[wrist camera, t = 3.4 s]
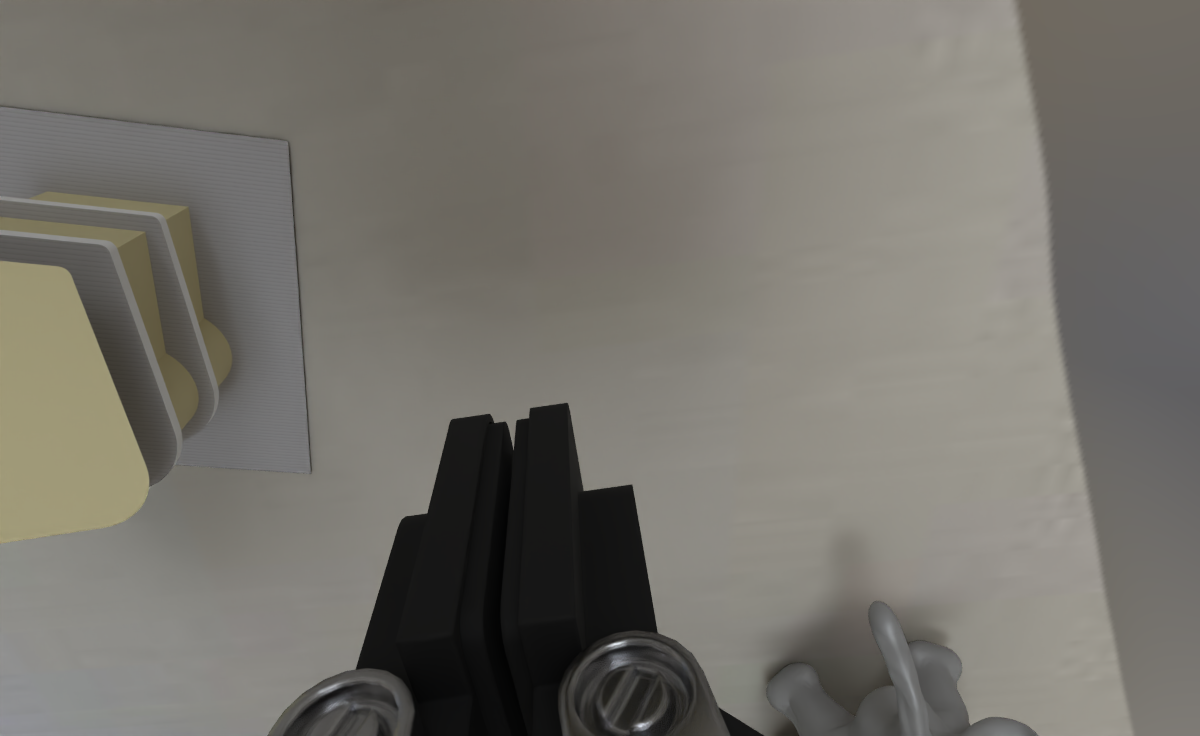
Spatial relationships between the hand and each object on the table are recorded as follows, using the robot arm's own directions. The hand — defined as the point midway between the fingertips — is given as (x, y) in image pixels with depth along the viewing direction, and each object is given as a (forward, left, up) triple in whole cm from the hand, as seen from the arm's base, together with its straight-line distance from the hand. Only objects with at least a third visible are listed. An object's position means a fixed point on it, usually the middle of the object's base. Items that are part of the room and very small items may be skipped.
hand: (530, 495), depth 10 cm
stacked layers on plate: (0, -11, -10) cm, 15 cm away
